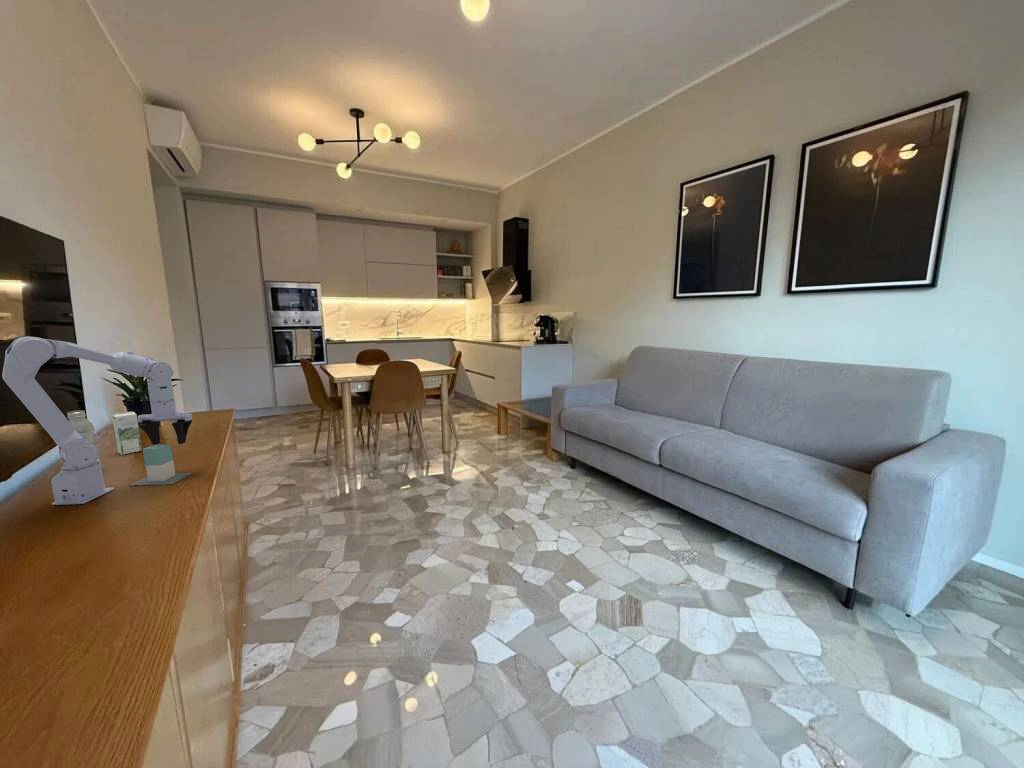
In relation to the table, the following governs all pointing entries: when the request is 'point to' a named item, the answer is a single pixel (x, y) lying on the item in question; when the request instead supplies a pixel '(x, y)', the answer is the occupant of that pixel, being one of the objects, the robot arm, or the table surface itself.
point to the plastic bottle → (82, 425)
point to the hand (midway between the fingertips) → (169, 443)
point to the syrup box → (126, 432)
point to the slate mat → (169, 481)
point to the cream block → (160, 471)
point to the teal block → (157, 454)
